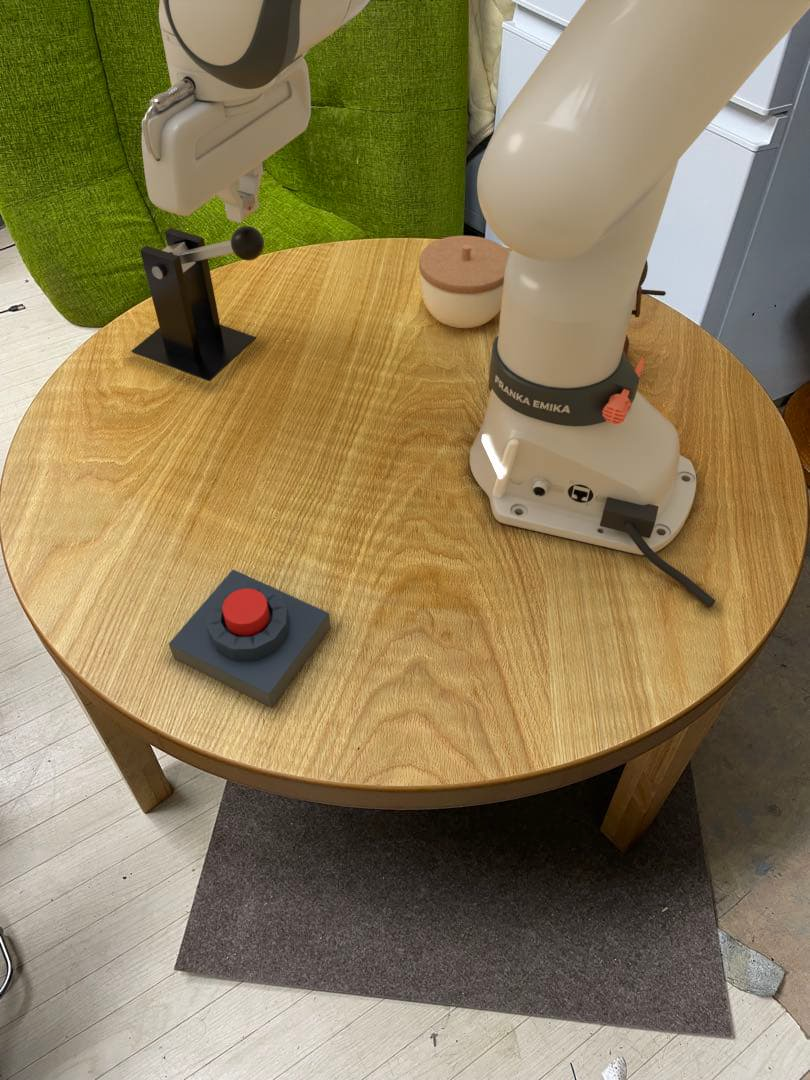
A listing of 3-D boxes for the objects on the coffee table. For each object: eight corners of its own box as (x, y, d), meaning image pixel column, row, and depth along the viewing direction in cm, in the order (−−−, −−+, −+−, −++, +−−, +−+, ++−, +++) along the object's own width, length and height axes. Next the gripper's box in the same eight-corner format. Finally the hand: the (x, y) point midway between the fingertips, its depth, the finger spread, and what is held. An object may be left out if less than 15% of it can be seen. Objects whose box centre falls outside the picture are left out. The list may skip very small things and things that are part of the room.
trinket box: (509, 344, 101) (517, 273, 94) (417, 343, 101) (418, 272, 94) (504, 292, 108) (511, 222, 101) (418, 291, 108) (419, 221, 101)
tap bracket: (257, 345, 101) (241, 236, 91) (211, 389, 96) (187, 279, 85) (182, 318, 104) (157, 211, 94) (133, 359, 99) (101, 250, 89)
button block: (331, 627, 75) (328, 600, 72) (272, 708, 70) (266, 682, 67) (236, 584, 78) (229, 555, 75) (173, 658, 73) (163, 631, 70)
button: (278, 611, 72) (275, 598, 70) (253, 643, 70) (250, 630, 68) (242, 594, 73) (239, 581, 71) (216, 625, 71) (213, 613, 69)
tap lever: (275, 248, 85) (260, 217, 84) (257, 264, 83) (241, 232, 82) (184, 267, 94) (168, 239, 92) (165, 282, 92) (149, 254, 90)
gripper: (172, 115, 65) (203, 277, 75) (318, 26, 77) (327, 177, 87) (106, 97, 67) (146, 258, 77) (258, 13, 78) (275, 162, 89)
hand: (243, 214), depth 82 cm, fingers closed
